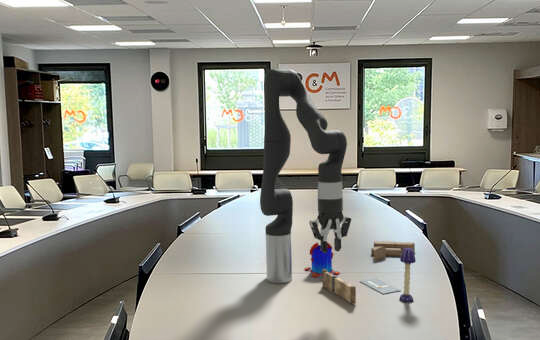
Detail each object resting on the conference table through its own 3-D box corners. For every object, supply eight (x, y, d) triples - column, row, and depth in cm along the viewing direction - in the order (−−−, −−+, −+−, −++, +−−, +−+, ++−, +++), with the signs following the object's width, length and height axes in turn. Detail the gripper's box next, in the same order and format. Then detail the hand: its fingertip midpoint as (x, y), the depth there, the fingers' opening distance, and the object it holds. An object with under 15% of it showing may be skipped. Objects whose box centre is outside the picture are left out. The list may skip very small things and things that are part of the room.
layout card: (359, 281, 171) (359, 280, 171) (376, 278, 173) (376, 277, 173) (383, 294, 158) (383, 293, 158) (400, 290, 160) (400, 289, 160)
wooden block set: (371, 238, 212) (414, 239, 208) (371, 251, 212) (414, 252, 208) (371, 248, 195) (417, 249, 191) (371, 261, 196) (417, 263, 192)
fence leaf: (331, 291, 160) (331, 276, 160) (335, 290, 161) (335, 275, 160) (352, 304, 149) (352, 287, 148) (356, 303, 149) (356, 287, 149)
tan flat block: (321, 286, 167) (321, 269, 166) (325, 285, 167) (325, 268, 167) (331, 292, 161) (331, 274, 160) (335, 291, 161) (335, 274, 161)
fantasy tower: (312, 278, 176) (312, 246, 175) (301, 269, 187) (301, 239, 186) (342, 275, 179) (342, 243, 178) (330, 266, 190) (329, 236, 189)
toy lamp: (412, 297, 154) (412, 246, 153) (417, 302, 150) (417, 250, 148) (397, 297, 154) (397, 247, 153) (402, 303, 150) (402, 250, 148)
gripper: (343, 192, 152) (344, 246, 154) (303, 196, 147) (304, 251, 148) (356, 195, 145) (357, 251, 147) (315, 200, 140) (316, 257, 141)
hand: (330, 251), depth 148 cm, fingers open, 3 cm apart
